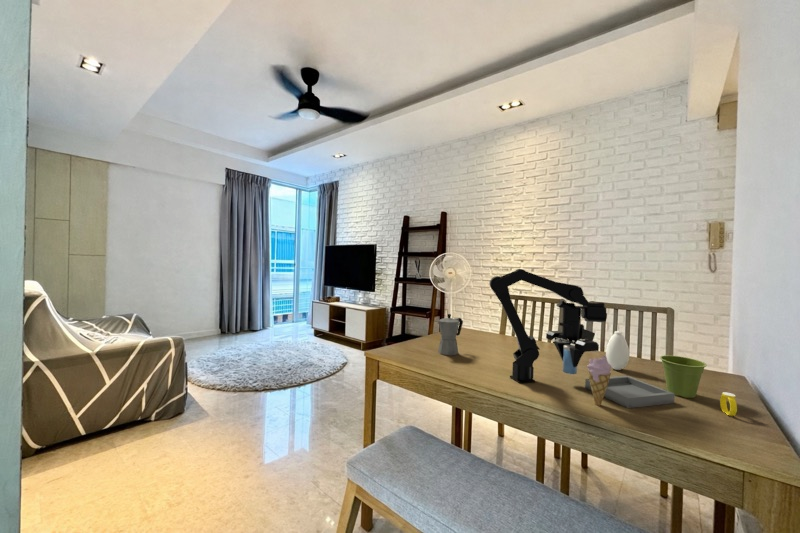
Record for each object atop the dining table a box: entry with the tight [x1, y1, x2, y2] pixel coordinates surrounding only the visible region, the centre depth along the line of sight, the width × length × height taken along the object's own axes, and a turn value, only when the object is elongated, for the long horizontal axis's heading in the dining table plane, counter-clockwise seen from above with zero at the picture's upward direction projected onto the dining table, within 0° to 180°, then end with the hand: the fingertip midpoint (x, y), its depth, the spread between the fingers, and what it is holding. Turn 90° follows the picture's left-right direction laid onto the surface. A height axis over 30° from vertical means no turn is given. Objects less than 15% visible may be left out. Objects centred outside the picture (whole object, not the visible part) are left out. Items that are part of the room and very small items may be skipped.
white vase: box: [605, 325, 630, 371], centre depth 134 cm, size 8×8×18 cm
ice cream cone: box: [586, 355, 612, 407], centre depth 100 cm, size 7×6×15 cm
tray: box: [584, 375, 676, 409], centre depth 108 cm, size 18×16×3 cm
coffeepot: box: [437, 313, 464, 356], centre depth 153 cm, size 15×9×18 cm, turn 126°
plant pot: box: [659, 354, 708, 399], centre depth 110 cm, size 12×12×11 cm
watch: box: [719, 391, 738, 417], centre depth 96 cm, size 6×3×6 cm, turn 157°
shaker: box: [562, 344, 578, 375], centre depth 116 cm, size 4×4×9 cm
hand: (569, 364), depth 116 cm, fingers closed on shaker, 4 cm apart
